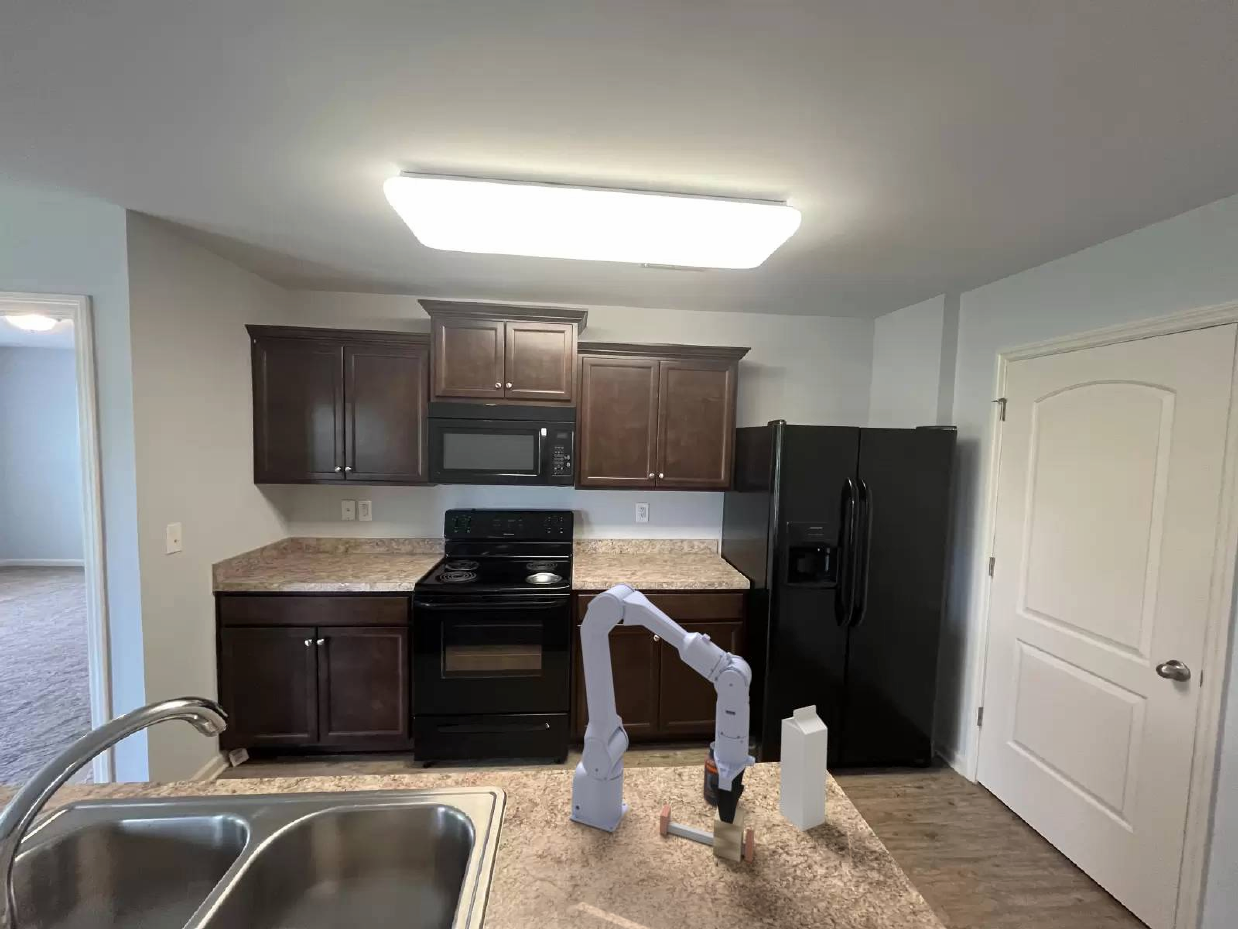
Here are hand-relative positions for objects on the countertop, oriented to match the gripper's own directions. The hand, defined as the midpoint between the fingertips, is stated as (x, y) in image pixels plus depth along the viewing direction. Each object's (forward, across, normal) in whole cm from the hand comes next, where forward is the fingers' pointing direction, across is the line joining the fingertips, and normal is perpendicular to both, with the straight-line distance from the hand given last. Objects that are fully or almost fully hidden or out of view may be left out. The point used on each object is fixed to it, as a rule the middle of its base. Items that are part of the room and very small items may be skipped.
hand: (730, 807), depth 87 cm
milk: (+8, +14, -12) cm, 20 cm away
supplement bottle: (+8, +13, +4) cm, 16 cm away
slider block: (+7, 0, 0) cm, 7 cm away
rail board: (+8, 0, +4) cm, 9 cm away
